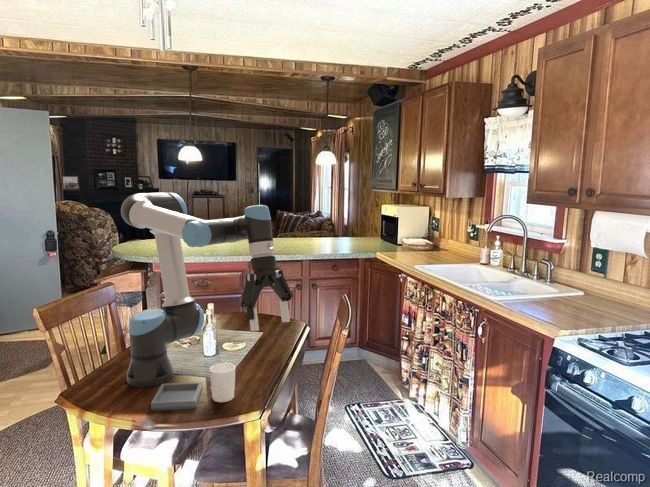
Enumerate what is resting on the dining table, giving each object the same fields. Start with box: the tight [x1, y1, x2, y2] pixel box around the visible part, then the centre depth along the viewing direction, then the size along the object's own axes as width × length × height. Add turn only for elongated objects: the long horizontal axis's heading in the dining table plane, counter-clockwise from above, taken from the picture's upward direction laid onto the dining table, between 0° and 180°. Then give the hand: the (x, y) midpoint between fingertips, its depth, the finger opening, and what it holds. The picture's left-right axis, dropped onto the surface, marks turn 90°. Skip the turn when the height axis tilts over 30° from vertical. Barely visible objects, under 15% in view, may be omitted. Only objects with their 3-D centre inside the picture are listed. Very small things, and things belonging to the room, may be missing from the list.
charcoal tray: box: [150, 381, 204, 412], centre depth 142 cm, size 13×13×2 cm
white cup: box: [209, 362, 236, 403], centre depth 143 cm, size 8×8×10 cm
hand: (271, 326), depth 136 cm, fingers open, 13 cm apart
